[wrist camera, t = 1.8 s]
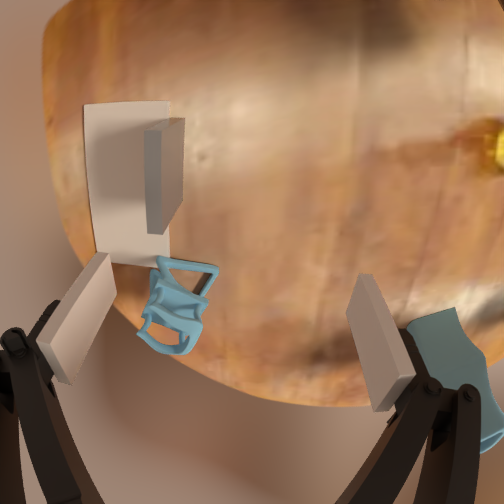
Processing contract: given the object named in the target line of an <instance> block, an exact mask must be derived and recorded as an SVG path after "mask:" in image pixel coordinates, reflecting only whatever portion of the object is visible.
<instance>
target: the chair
mask: <svg viewBox="0 0 504 504" xmlns="http://www.w3.org/2000/svg"><path fill="white" fill-rule="evenodd" d="M156 264H157V266H158V268H159V270H160V272H161V273H160V272H159V271H157V270H155V269H151V271H150V298H149V300H148V302H147V304H146V306H145V308H144V311H143V313H142V316H141V317H142V318H144V319H145V323H144V325H143V326H142V328H141V329H140V330H139V331H138V332H137V333H136V334H137V335H138V336H139V337H141V338H142V339H143V340H144V341H146V343H147V344H149V345H150V346H151V347H152V348H153V349H154V350H156V351H157V352H160V353H162V354H173V355H186V354H187V353H189V352H190V351H191V350H192V348H193V347H194V345H195V343H196V342H197V340H198V338H199V336H200V334H201V332H202V329H203V324H202V320H201V317H200V316H201V314H202V313H203V311H204V310H205V308H206V307H207V305H208V301H209V300H208V299H206V298H204V296H205V294H206V293H207V291H208V290H209V288H210V286H211V285H212V283H213V282H214V280H215V279H216V277H217V275H218V274H219V267H217V266H214V265H209V264H203V263H197V262H190V261H183V260H177V259H172V258H167V257H163V256H157V258H156ZM168 268H174V269H181V270H189V271H198V272H206V273H212V274H211V276H210V277H209V279H208V280H207V282H206V284H205V285H204V287H203V288H202V290H201V292H200V293H199V295H196V294H193V293H192V292H190V291H188V290H187V289H185V288H184V287H182V286H181V285H180V284H178V283H177V282H176V280H175V279H174V278H173V276H172V275H171V273H170V271H169V270H168ZM151 322H154V323H157V324H160V325H163V326H165V327H167V328H170V329H172V330H174V331H176V332H178V333H179V344H178V345H165V344H161V343H160V342H158V341H156V340H155V339H154V338H152V337H151V336H150V335H149V334H148V333H147V332H146V330H147V329H148V327H149V326H150V324H151ZM185 335H186V336H187V335H189V336H188V337H187V339H186V340H185Z"/></svg>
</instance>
